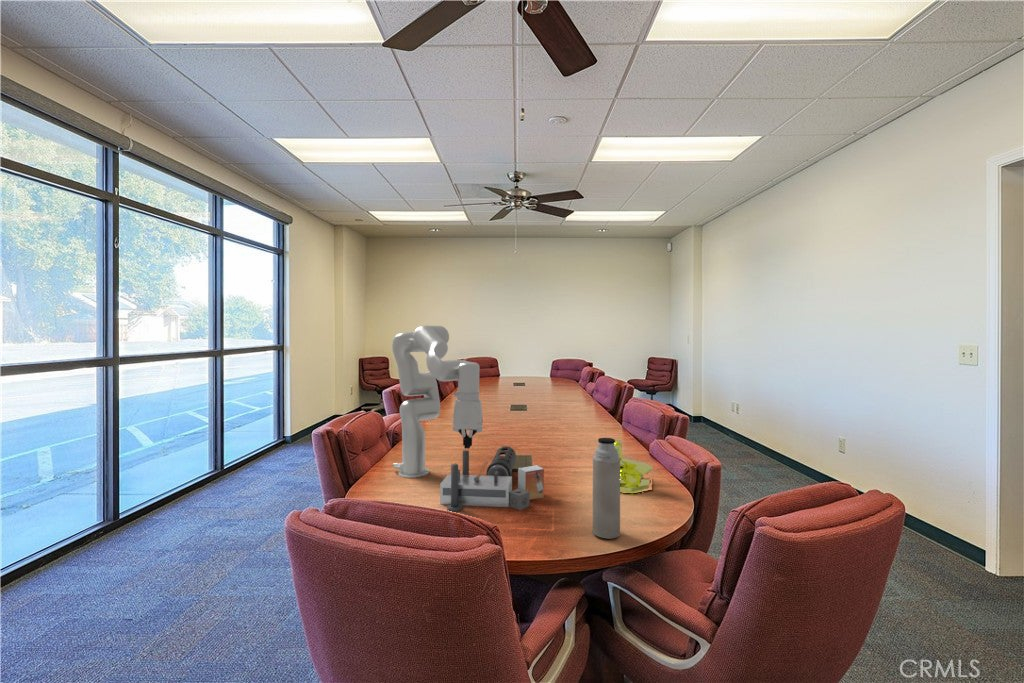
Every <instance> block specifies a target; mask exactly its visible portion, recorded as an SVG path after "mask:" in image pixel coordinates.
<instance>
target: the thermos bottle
mask: <svg viewBox="0 0 1024 683" xmlns="http://www.w3.org/2000/svg"><path fill="white" fill-rule="evenodd" d="M615 440H616V439H615V438H611V437H599V438H598V439H597V441H598V443H597V446H598V447H597V448H595V451H594V455H593V456H592V533H593V534H594V535H595V536H597V537H599V538H602V539H615V538H618V537H619V536H620V535H621V493H620V458H619V457H618V451H617V450H616V449H615V444H614V443H615Z"/></svg>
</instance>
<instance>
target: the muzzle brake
mask: <svg viewBox="0 0 1024 683" xmlns="http://www.w3.org/2000/svg"><path fill="white" fill-rule="evenodd" d="M504 455H505V456H504ZM516 459H517V454H516V451H515V450H514V449H513V448H512V447H510V446H507V445H504V446H500V447H499V448H498V450H496V453H495V455H494V457H493V459H491V463H490V464H488V467H487V469H486V472H485V474H486V475H485V476H494V474H495V472H496V471H498V476H510V477H512V474H513V473H512V472H513V468H514V466H515V462H516Z"/></svg>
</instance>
